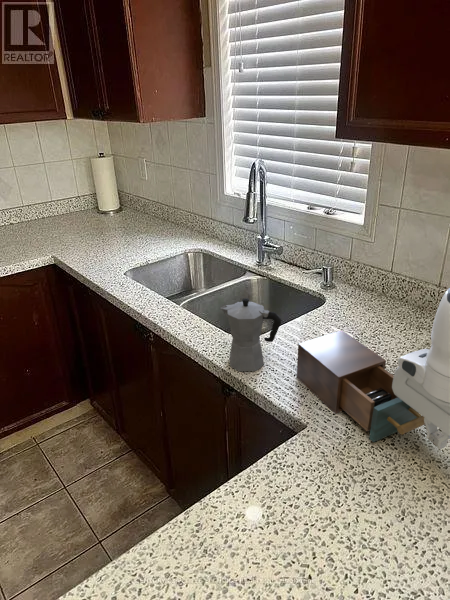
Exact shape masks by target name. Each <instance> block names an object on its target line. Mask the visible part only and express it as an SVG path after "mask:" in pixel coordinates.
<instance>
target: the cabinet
mask: <svg viewBox="0 0 450 600" xmlns="http://www.w3.org/2000/svg"><path fill="white" fill-rule="evenodd" d="M386 363H387V359H384V358H383V357H382V356H380V355H379V354H377V353H376V352H375V351H373V350H371V349H370V348H369V347H367V346H366V345H364V344H363V343H361V342H360V341H359V340H357V339H356V338H354V337H353V336H351V335H350V334H348V333H347V332H345V331H344V330H338V331H335V332H331V333H328V334H325V335H323V336H318V337H316V338H313V339H309V340H305V341H303V342H299V343H297V365H296V378H297V380H298V381H300V383H302V385H304V386H305V387H306V388H307V389H308V390H309V391H310V392H311V393H312V394H313V395H315V396H316V398H318V399H319V400H320V401H321V402H322V403H323V404H324V405H325V406H326V407H327V408H329V410H330V411H332V412H333V413H334V414H335V415H337V414H339V413H341V412H345V411H344V410H343V409H342V408H341V407H340V406H339V401H340V391H341V381H342V379H344V378H347V377H350V376H352V375H355V374H358V373H361V372H363V371H366V370H369V369H372V368H374V367H377V366H381V367H382V368H384V369H385V370H386V365H387V364H386Z"/></svg>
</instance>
